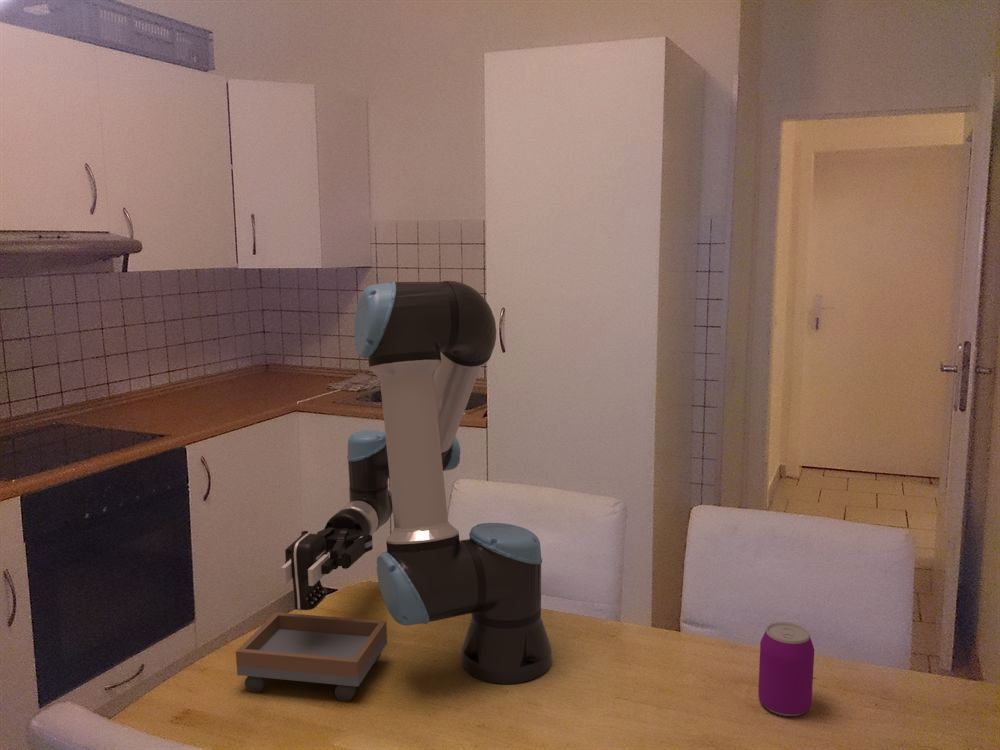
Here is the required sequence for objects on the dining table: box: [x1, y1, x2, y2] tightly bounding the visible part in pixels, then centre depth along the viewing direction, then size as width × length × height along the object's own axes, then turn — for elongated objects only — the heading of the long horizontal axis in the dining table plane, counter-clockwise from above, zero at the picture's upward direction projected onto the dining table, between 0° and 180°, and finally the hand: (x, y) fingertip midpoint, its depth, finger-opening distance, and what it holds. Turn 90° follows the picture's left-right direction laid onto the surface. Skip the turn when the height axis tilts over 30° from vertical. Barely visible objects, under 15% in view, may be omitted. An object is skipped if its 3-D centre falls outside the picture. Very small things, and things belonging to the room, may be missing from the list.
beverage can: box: [757, 621, 815, 717], centre depth 126 cm, size 8×8×12 cm
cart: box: [235, 611, 388, 703], centre depth 136 cm, size 20×14×7 cm
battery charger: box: [291, 532, 329, 611], centre depth 137 cm, size 7×4×11 cm, turn 168°
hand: (297, 576), depth 132 cm, fingers closed on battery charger, 4 cm apart
